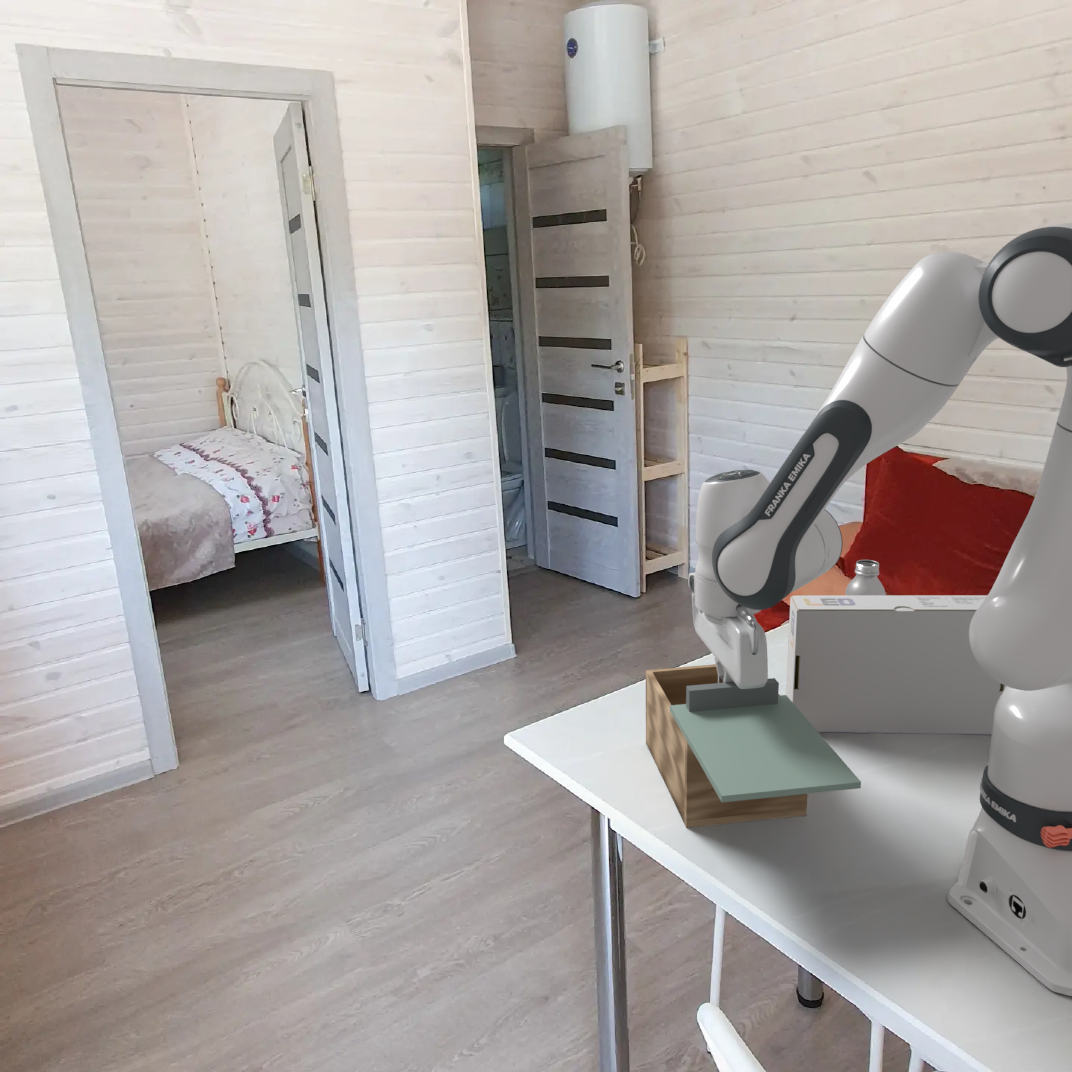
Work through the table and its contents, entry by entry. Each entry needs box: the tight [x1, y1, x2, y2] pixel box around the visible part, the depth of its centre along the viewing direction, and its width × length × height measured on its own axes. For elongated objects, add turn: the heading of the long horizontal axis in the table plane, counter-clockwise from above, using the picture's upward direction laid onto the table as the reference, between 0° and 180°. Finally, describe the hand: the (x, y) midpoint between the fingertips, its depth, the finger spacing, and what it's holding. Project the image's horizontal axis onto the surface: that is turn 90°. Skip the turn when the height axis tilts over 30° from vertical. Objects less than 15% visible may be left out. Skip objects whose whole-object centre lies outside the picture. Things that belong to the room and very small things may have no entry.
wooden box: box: [645, 663, 809, 829], centre depth 127 cm, size 22×16×12 cm
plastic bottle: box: [845, 559, 887, 595], centre depth 156 cm, size 6×7×20 cm
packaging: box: [785, 594, 1006, 736], centre depth 139 cm, size 30×6×20 cm, turn 84°
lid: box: [670, 677, 862, 802], centre depth 112 cm, size 22×16×4 cm
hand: (727, 690), depth 123 cm, fingers closed
